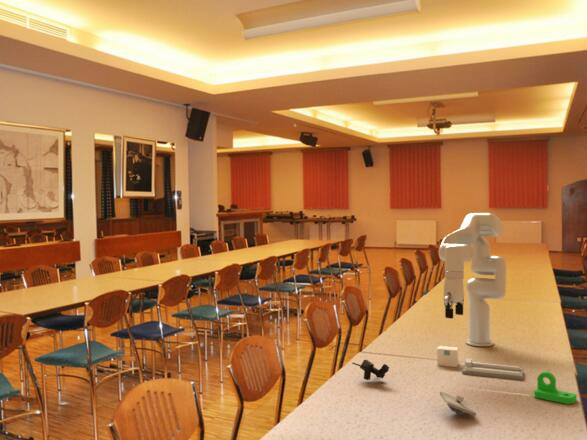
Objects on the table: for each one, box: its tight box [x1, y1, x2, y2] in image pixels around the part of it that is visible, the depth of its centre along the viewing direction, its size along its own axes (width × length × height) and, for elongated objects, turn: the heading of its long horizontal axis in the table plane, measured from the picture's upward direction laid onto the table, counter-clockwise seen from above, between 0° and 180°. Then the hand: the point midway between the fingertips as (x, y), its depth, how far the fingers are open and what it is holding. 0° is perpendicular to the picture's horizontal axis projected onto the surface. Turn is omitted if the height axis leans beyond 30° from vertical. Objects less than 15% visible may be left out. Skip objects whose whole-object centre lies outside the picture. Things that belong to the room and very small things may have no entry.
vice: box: [352, 359, 390, 381], centre depth 201 cm, size 18×9×11 cm
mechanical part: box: [533, 371, 578, 405], centre depth 180 cm, size 12×6×8 cm, turn 50°
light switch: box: [439, 391, 477, 417], centre depth 170 cm, size 9×10×5 cm
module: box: [436, 345, 459, 368], centre depth 220 cm, size 5×8×7 cm, turn 66°
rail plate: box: [461, 357, 524, 381], centre depth 208 cm, size 10×22×4 cm, turn 66°
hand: (454, 316), depth 216 cm, fingers open, 9 cm apart
